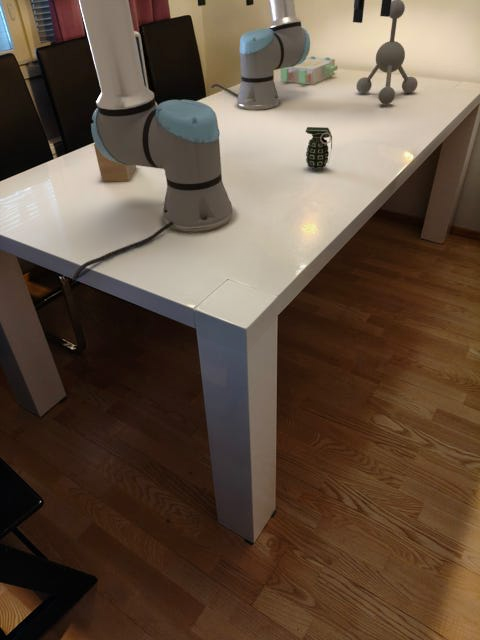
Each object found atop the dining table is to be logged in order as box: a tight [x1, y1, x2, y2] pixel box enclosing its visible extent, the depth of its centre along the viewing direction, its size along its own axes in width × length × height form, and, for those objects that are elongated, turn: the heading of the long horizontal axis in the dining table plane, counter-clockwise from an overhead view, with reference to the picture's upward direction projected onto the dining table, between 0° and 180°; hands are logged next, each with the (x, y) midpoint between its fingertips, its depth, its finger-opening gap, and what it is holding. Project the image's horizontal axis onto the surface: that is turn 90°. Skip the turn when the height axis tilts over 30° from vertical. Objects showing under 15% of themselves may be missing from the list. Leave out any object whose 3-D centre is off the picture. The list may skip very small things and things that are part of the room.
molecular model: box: [356, 0, 418, 105], centre depth 169 cm, size 24×22×30 cm
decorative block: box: [280, 56, 338, 85], centre depth 206 cm, size 26×6×20 cm
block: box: [93, 143, 137, 183], centre depth 127 cm, size 9×7×10 cm
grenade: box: [305, 126, 333, 171], centre depth 123 cm, size 7×6×10 cm
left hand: (225, 5), depth 123 cm, fingers open, 13 cm apart
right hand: (371, 19), depth 142 cm, fingers open, 13 cm apart
